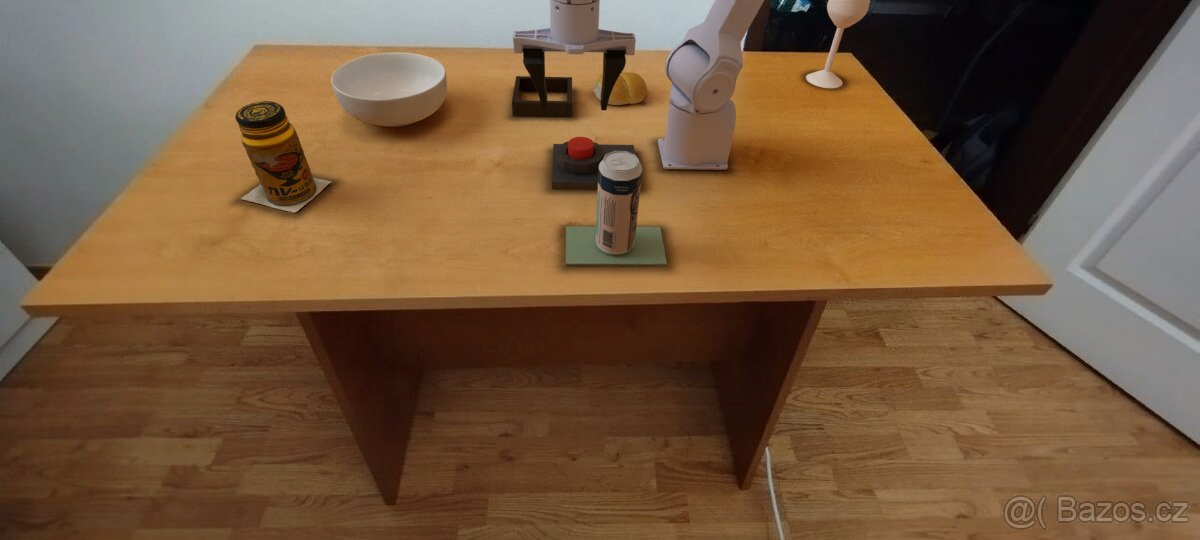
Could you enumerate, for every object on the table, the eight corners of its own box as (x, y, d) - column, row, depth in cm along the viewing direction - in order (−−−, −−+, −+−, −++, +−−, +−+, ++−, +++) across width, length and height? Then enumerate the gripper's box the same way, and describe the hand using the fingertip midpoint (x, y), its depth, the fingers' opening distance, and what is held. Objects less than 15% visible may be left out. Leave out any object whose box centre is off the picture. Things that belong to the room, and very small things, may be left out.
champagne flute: (847, 89, 106) (898, -58, 89) (810, 87, 105) (855, -60, 89) (836, 73, 110) (883, -69, 94) (801, 71, 110) (842, -71, 94)
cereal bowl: (415, 151, 85) (405, 107, 80) (319, 130, 88) (305, 86, 83) (470, 101, 97) (465, 60, 92) (384, 84, 100) (375, 43, 95)
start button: (593, 147, 83) (593, 136, 81) (593, 161, 80) (594, 150, 79) (568, 147, 82) (568, 136, 81) (568, 160, 80) (567, 149, 79)
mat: (660, 229, 74) (660, 226, 73) (666, 266, 69) (667, 263, 68) (566, 228, 73) (566, 226, 73) (565, 266, 68) (565, 263, 68)
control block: (633, 151, 87) (634, 133, 85) (638, 190, 80) (640, 171, 78) (553, 150, 86) (553, 132, 84) (551, 189, 79) (551, 170, 77)
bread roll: (653, 103, 99) (655, 80, 96) (604, 109, 96) (605, 87, 94) (635, 82, 104) (636, 60, 102) (588, 88, 102) (588, 66, 99)
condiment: (296, 213, 73) (261, 129, 65) (240, 200, 75) (200, 115, 67) (332, 182, 78) (304, 100, 70) (279, 170, 80) (246, 89, 72)
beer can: (640, 253, 69) (649, 168, 61) (602, 260, 68) (607, 175, 60) (626, 229, 73) (633, 145, 65) (590, 235, 71) (593, 151, 63)
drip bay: (572, 90, 101) (572, 76, 99) (572, 117, 94) (572, 103, 92) (516, 89, 100) (516, 75, 99) (512, 116, 93) (511, 102, 92)
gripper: (508, 7, 62) (516, 121, 72) (641, 10, 63) (632, 122, 72) (512, -14, 67) (519, 94, 77) (635, -11, 68) (627, 96, 78)
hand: (574, 106), depth 75 cm, fingers open, 7 cm apart
